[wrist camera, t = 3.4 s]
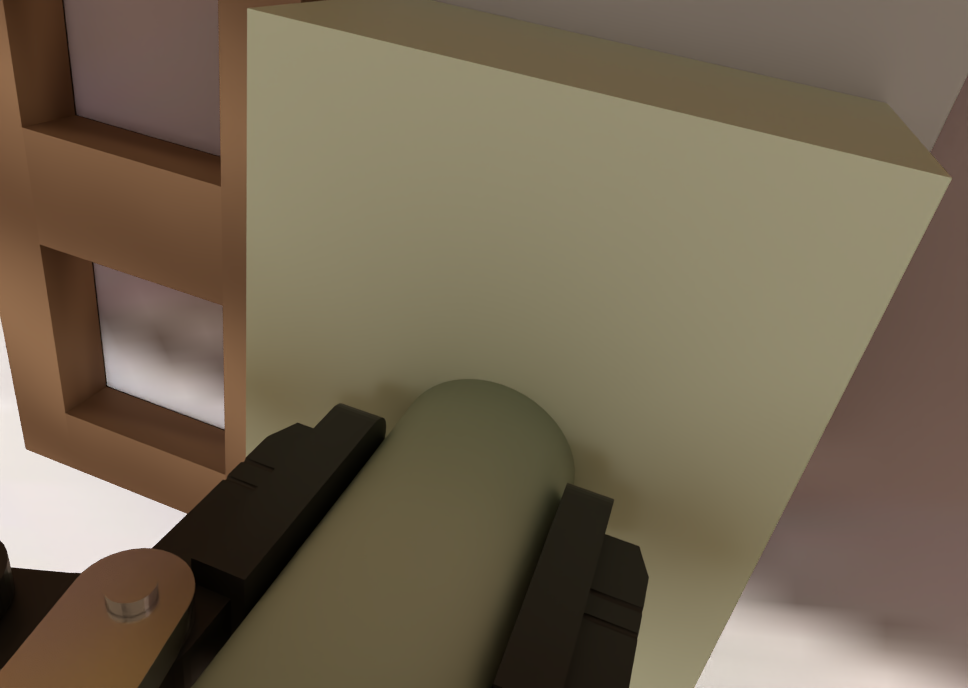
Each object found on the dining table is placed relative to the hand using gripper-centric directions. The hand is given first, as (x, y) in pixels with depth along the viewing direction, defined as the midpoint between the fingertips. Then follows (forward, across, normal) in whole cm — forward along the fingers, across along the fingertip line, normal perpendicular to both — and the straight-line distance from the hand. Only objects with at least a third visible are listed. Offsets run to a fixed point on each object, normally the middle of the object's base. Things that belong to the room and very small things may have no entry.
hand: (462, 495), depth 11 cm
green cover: (+6, 0, 0) cm, 6 cm away
